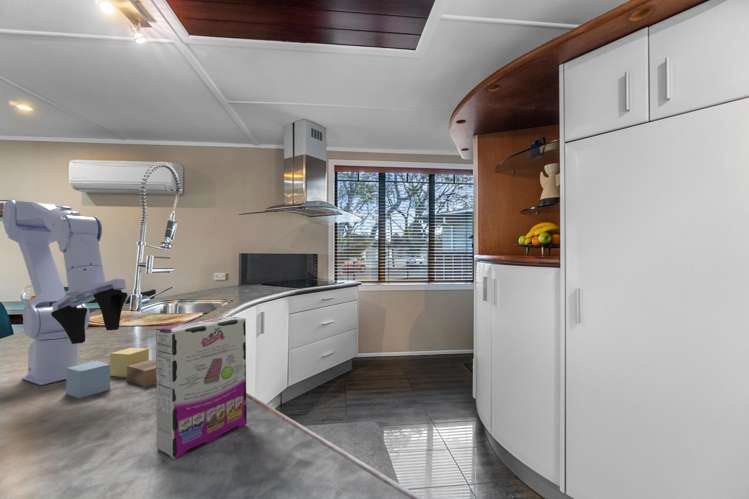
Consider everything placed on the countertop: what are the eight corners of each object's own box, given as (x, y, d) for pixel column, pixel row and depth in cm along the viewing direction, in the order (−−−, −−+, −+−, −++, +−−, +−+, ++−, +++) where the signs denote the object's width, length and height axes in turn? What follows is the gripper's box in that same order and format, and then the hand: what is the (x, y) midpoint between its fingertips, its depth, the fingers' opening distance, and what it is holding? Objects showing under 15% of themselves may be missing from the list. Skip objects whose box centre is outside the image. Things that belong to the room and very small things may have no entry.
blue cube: (66, 394, 66) (66, 367, 66) (96, 385, 70) (97, 361, 71) (79, 398, 64) (79, 371, 64) (110, 389, 68) (110, 364, 68)
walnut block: (126, 382, 73) (126, 365, 73) (160, 373, 79) (160, 357, 79) (145, 388, 69) (145, 370, 70) (179, 377, 76) (179, 361, 76)
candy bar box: (227, 417, 56) (228, 315, 56) (247, 425, 53) (248, 317, 53) (152, 450, 46) (154, 326, 47) (172, 461, 44) (174, 330, 44)
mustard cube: (110, 376, 76) (110, 353, 77) (130, 369, 81) (131, 347, 81) (128, 377, 75) (129, 354, 75) (148, 370, 80) (148, 348, 80)
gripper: (32, 281, 66) (40, 351, 63) (98, 254, 65) (110, 324, 62) (69, 284, 73) (78, 347, 70) (129, 260, 72) (141, 323, 69)
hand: (95, 336), depth 67 cm, fingers open, 7 cm apart
